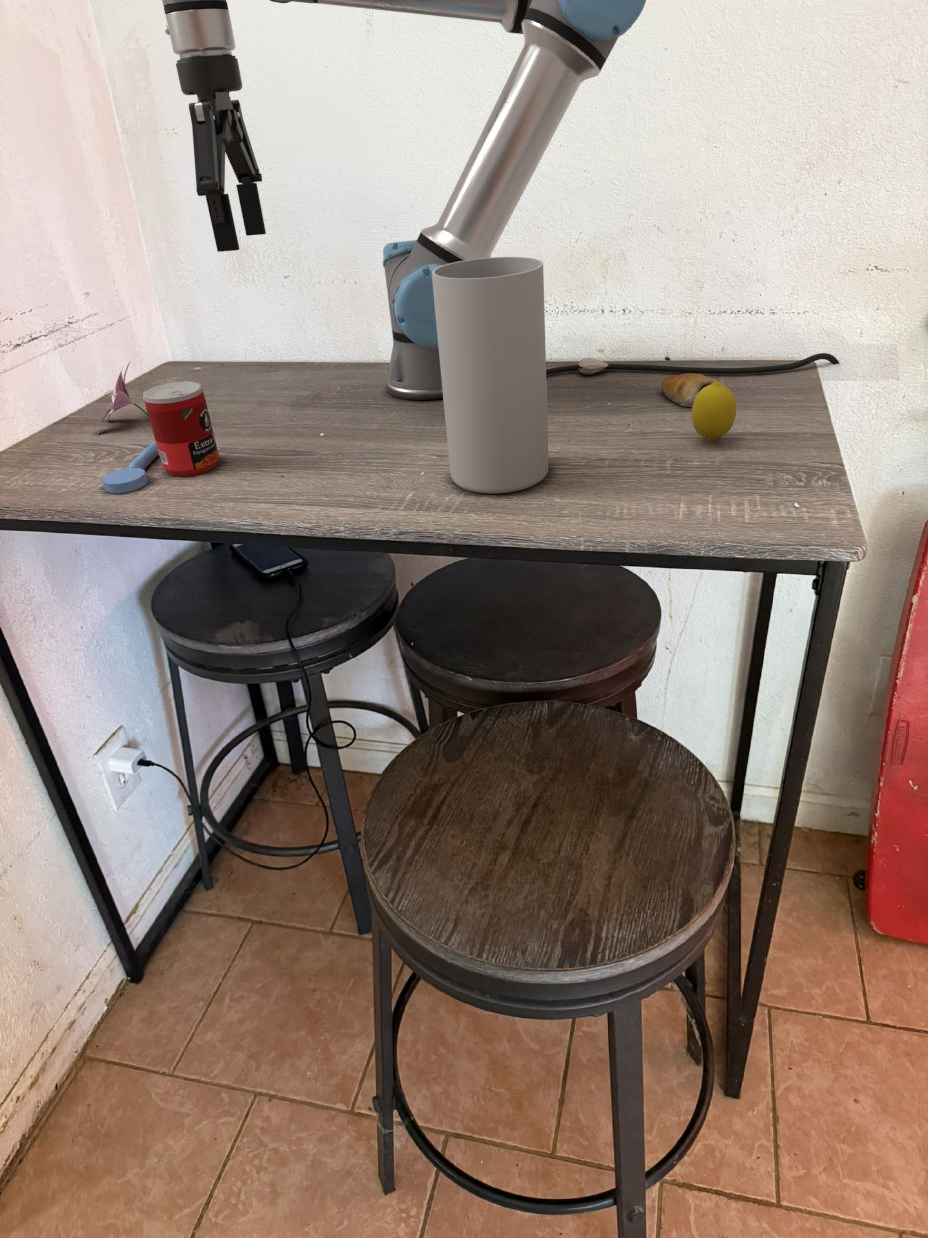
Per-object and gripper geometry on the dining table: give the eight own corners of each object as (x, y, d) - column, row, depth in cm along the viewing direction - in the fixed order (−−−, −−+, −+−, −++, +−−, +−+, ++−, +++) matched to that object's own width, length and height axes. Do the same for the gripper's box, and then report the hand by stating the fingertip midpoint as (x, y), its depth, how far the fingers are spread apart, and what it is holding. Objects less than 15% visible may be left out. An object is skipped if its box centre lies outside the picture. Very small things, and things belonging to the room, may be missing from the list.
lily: (136, 413, 146) (92, 370, 140) (182, 388, 140) (138, 342, 134) (108, 458, 138) (60, 415, 132) (156, 434, 133) (108, 387, 127)
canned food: (206, 477, 115) (185, 398, 109) (153, 477, 117) (130, 398, 111) (230, 456, 121) (212, 380, 115) (179, 456, 123) (159, 381, 117)
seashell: (578, 370, 144) (578, 355, 142) (608, 368, 143) (608, 353, 142) (578, 377, 140) (578, 362, 139) (608, 376, 139) (608, 361, 138)
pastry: (648, 394, 130) (649, 369, 128) (682, 385, 132) (684, 361, 130) (689, 409, 123) (691, 383, 121) (725, 400, 125) (727, 374, 123)
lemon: (734, 435, 113) (740, 375, 109) (731, 450, 109) (737, 389, 104) (692, 433, 115) (696, 374, 111) (687, 448, 110) (691, 387, 106)
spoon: (156, 437, 131) (153, 426, 130) (191, 436, 130) (188, 424, 129) (98, 494, 113) (94, 482, 112) (138, 492, 112) (134, 479, 111)
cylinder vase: (518, 502, 100) (508, 280, 87) (432, 486, 106) (409, 277, 93) (565, 464, 109) (562, 257, 96) (482, 452, 115) (469, 255, 102)
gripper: (207, 60, 114) (241, 230, 126) (137, 55, 93) (186, 260, 105) (261, 55, 114) (290, 226, 125) (203, 48, 93) (244, 255, 104)
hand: (243, 242), depth 115 cm, fingers open, 13 cm apart
